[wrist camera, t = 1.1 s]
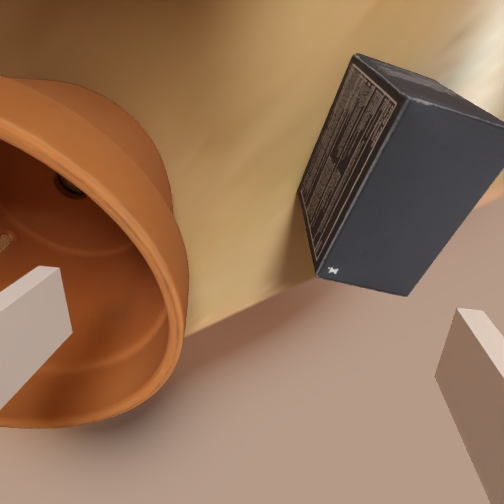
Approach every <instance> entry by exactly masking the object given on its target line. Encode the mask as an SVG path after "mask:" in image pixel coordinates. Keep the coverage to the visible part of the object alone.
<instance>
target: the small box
mask: <svg viewBox="0 0 504 504" xmlns="http://www.w3.org/2000/svg"><path fill="white" fill-rule="evenodd" d="M503 168H504V122H503V121H501V120H499V119H498V118H496V117H495V116H493V115H492V114H490V113H488V112H486V111H485V110H483V109H481V108H479V107H478V106H476V105H474V104H473V103H471V102H469V101H468V100H466V99H464V98H463V97H461V96H460V95H458V94H456V93H455V92H453V91H451V90H450V89H448V88H446V87H444V86H443V85H441V84H440V83H439V82H437V81H435V80H433V79H430V78H428V77H425V76H422V75H419V74H417V73H413V72H411V71H408V70H405V69H402V68H399V67H396V66H394V65H391V64H388V63H385V62H382V61H379V60H377V59H373V58H371V57H368V56H365V55H362V54H359V53H356V54H354V55H353V57H352V59H351V62H350V64H349V67H348V69H347V71H346V74H345V76H344V78H343V81H342V83H341V86H340V88H339V91H338V93H337V95H336V98H335V100H334V103H333V105H332V106H331V110H330V112H329V115H328V117H327V120H326V122H325V124H324V127H323V129H322V132H321V134H320V137H319V139H318V142H317V143H316V146H315V149H314V151H313V154H312V156H311V158H310V161H309V163H308V166H307V168H306V171H305V173H304V176H303V179H302V181H301V184H300V186H299V189H298V190H297V192H298V195H299V199H300V203H301V207H302V210H303V215H304V220H305V225H306V231H307V236H308V240H309V246H310V250H311V254H312V260H313V264H314V269H315V275H316V277H317V278H320V279H324V280H329V281H335V282H339V283H344V284H348V285H353V286H357V287H362V288H366V289H371V290H375V291H379V292H384V293H388V294H393V295H398V296H402V297H407V296H408V295H409V294H410V292H411V291H412V290H413V288H414V287H415V285H416V284H417V283H418V282H419V280H420V279H421V278H422V276H423V275H424V274H425V272H426V271H427V270H428V268H429V267H430V265H431V264H432V263H433V261H434V260H435V259H436V257H437V256H438V255H439V253H440V252H441V251H442V249H443V248H444V247H445V245H446V244H447V243H448V241H449V240H450V239H451V237H452V236H453V235H454V233H455V232H456V231H457V229H458V228H459V227H460V225H461V224H462V223H463V221H464V220H465V218H466V217H467V216H468V215H469V213H470V212H471V211H472V209H473V208H474V207H475V205H476V204H477V203H478V201H479V200H480V199H481V197H482V196H483V195H484V193H485V192H486V191H487V189H488V188H489V187H490V185H491V184H492V183H493V181H494V180H495V179H496V178H497V176H498V175H499V174H500V172H501V171H502V170H503Z"/></svg>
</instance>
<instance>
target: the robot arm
mask: <svg viewBox="0 0 504 504" xmlns="http://www.w3.org/2000/svg"><path fill="white" fill-rule="evenodd" d="M72 333H73V332H72V327H71V322H70V317H69V312H68V307H67V302H66V298H65V293H64V288H63V283H62V278H61V273H60V268H57V267H47V266H38V267H36V268H35V269H33V270H32V271H30V272H29V273H27V274H26V275H24V276H23V277H22V278H20V279H19V280H17V281H16V282H14V283H13V284H11V285H10V286H8V287H7V288H5V289H4V290H3V291H1V292H0V410H1V409H2V408H3V407H4V405H5V404H6V403H7V402H8V401H9V400H10V399H11V398H12V397H13V396H14V395H15V394H16V393H17V392H18V390H19V389H20V388H21V387H22V386H23V385H24V384H25V383H26V382H27V381H28V380H29V379H30V378H31V377H32V375H33V374H34V373H35V372H36V371H37V370H38V369H39V368H40V367H41V366H42V365H43V364H44V363H45V362H46V361H47V359H48V358H49V357H50V356H51V355H52V354H53V353H54V352H55V351H56V350H57V349H58V348H59V347H60V346H61V344H62V343H63V342H64V341H65V340H66V339H67V338H68V337H69V336H70V335H71V334H72ZM435 378H436V381H437V383H438V385H439V387H440V389H441V392H442V394H443V396H444V399H445V401H446V403H447V405H448V408H449V410H450V412H451V415H452V417H453V419H454V421H455V424H456V426H457V428H458V430H459V433H460V435H461V437H462V440H463V442H464V444H465V446H466V449H467V451H468V453H469V456H470V458H471V460H472V462H473V464H474V467H475V469H476V471H477V474H478V476H479V478H480V480H481V483H482V485H483V487H484V490H485V492H486V494H487V496H488V499H489V501H490V503H491V504H504V337H503V336H502V335H501V334H500V332H499V331H498V330H497V328H496V327H495V326H494V325H493V323H492V322H491V321H490V319H489V318H488V317H487V316H486V314H485V313H484V312H483V311H482V310H471V309H462V308H456V311H455V315H454V317H453V320H452V324H451V327H450V330H449V333H448V336H447V339H446V342H445V345H444V348H443V352H442V355H441V358H440V361H439V364H438V367H437V370H436V373H435Z"/></svg>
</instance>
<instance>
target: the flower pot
mask: <svg viewBox="0 0 504 504" xmlns="http://www.w3.org/2000/svg"><path fill="white" fill-rule="evenodd" d="M59 174H60V175H61V176H63V177H64V178H66V179H67V180H68V181H70V182H71V183H73V184H74V185H75V186H76V187H78V188H79V189H80V190H81V191H83V192H84V193H85V194H84V195H77V194H73V193H71V192H69V191H67V190H66V189H65V188H64V187H63V186H62V185H61V183H60V181H59V178H58V175H59ZM3 234H6V235H8V236H9V237H10V238H11V243H10V245H8V246H7V248H6V249H5V250H4V251H2V252H1V253H0V292H1V291H3V290H4V289H5V288H7V287H8V286H10V285H11V284H13V283H14V282H16V281H17V280H19V279H20V278H22V277H23V276H24V275H26V274H27V273H29V272H30V271H32V270H33V269H35V268H36V267H38V266H47V267H57V268H60V273H61V278H62V283H63V288H64V293H65V298H66V302H67V307H68V312H69V317H70V322H71V327H72V332H73V333H72V334H71V335H70V336H69V337H68V338H67V339H66V340H65V341H64V342H63V343H62V344H61V346H60V347H59V348H58V349H57V350H56V351H55V352H54V353H53V354H52V355H51V356H50V357H49V358H48V359H47V361H46V362H45V363H44V364H43V365H42V366H41V367H40V368H39V369H38V370H37V371H36V372H35V373H34V374H33V375H32V377H31V378H30V379H29V380H28V381H27V382H26V383H25V384H24V385H23V386H22V387H21V388H20V389H19V390H18V392H17V393H16V394H15V395H14V396H13V397H12V398H11V399H10V400H9V401H8V402H7V403H6V404H5V405H4V407H3V408H2V409H1V410H0V427H12V428H61V427H71V426H78V425H83V424H89V423H94V422H98V421H101V420H105V419H109V418H112V417H115V416H117V415H120V414H122V413H124V412H127V411H129V410H131V409H133V408H134V407H136V406H138V405H140V404H141V403H143V402H144V401H146V400H147V399H148V398H150V397H151V396H152V395H154V394H155V393H156V392H157V391H158V390H159V389H160V388H161V387H162V386H163V385H164V383H165V382H166V381H167V379H168V378H169V377H170V375H171V373H172V372H173V370H174V368H175V366H176V364H177V361H178V359H179V356H180V352H181V349H182V345H183V340H184V333H185V326H186V316H187V306H188V292H189V267H188V260H187V254H186V249H185V246H184V242H183V239H182V236H181V233H180V230H179V228H178V225H177V223H176V221H175V219H174V217H173V205H172V197H171V190H170V185H169V181H168V177H167V173H166V169H165V167H164V164H163V161H162V158H161V156H160V154H159V152H158V150H157V148H156V147H155V145H154V143H153V142H152V140H151V139H150V137H149V136H148V135H147V133H146V132H145V131H144V130H143V128H142V127H141V126H140V125H139V124H138V123H137V122H136V121H135V120H134V119H133V118H132V117H131V116H130V115H129V114H128V113H126V112H125V111H124V110H123V109H122V108H120V107H119V106H118V105H116V104H115V103H113V102H112V101H110V100H109V99H107V98H105V97H103V96H101V95H99V94H97V93H95V92H93V91H90V90H88V89H86V88H83V87H80V86H77V85H73V84H69V83H65V82H60V81H52V80H41V79H24V78H6V77H3V76H0V236H1V235H3Z"/></svg>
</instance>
